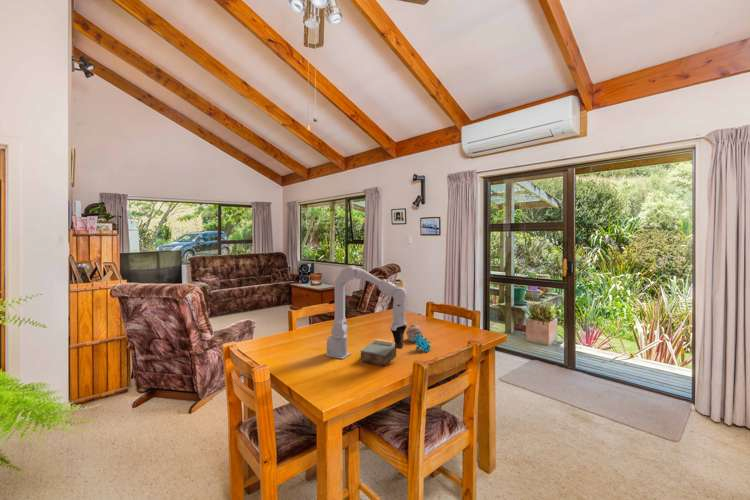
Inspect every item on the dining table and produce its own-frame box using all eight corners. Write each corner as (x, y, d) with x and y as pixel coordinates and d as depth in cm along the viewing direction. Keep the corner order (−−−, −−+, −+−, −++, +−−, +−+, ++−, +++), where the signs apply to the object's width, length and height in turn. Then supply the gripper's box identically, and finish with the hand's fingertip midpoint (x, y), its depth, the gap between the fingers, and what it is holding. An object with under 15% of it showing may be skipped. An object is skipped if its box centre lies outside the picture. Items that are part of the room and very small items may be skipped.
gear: (420, 351, 173) (412, 333, 179) (413, 357, 176) (406, 339, 182) (436, 350, 180) (427, 333, 186) (429, 356, 183) (421, 339, 189)
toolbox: (360, 362, 162) (360, 352, 162) (373, 352, 176) (373, 343, 176) (384, 366, 158) (385, 356, 157) (396, 355, 171) (396, 346, 171)
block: (401, 349, 164) (401, 335, 163) (395, 348, 165) (395, 334, 164) (403, 347, 166) (403, 333, 166) (397, 346, 168) (397, 332, 167)
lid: (360, 352, 162) (360, 347, 162) (373, 342, 176) (373, 337, 176) (385, 356, 157) (385, 351, 157) (396, 346, 171) (396, 341, 171)
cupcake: (420, 344, 189) (421, 326, 189) (403, 342, 192) (404, 324, 192) (423, 339, 198) (424, 321, 198) (407, 337, 201) (408, 320, 201)
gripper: (402, 317, 157) (401, 347, 157) (411, 310, 170) (411, 338, 171) (387, 315, 159) (386, 345, 160) (398, 309, 173) (397, 336, 173)
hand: (398, 341), depth 166 cm, fingers closed on block, 3 cm apart
